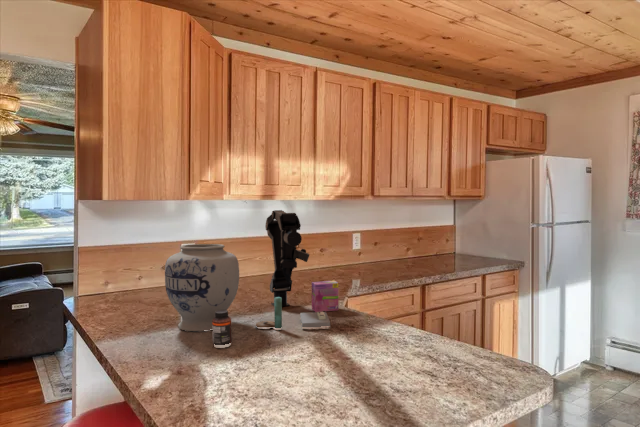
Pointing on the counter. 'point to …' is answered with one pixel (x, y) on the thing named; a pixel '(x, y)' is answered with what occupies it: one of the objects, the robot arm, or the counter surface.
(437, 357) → the counter surface
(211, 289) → the apothecary jar
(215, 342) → the supplement bottle
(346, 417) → the counter surface
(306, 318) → the stand
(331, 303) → the box
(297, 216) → the robot arm
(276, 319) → the crank handle
